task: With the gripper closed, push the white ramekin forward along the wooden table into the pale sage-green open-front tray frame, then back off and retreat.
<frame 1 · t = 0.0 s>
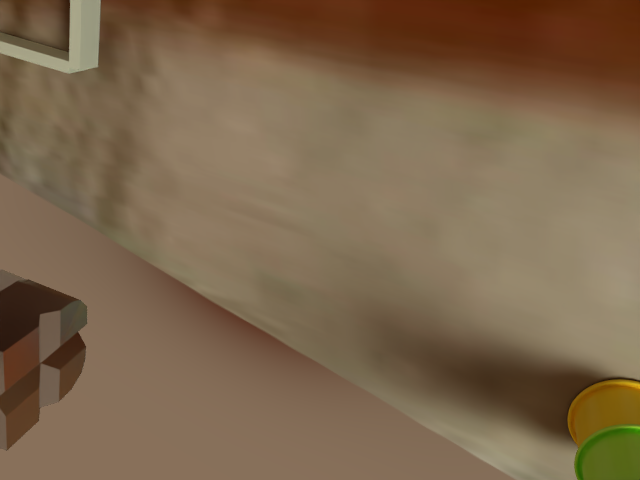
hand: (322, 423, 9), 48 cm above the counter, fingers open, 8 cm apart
stacking cups: (621, 419, 61), on the counter
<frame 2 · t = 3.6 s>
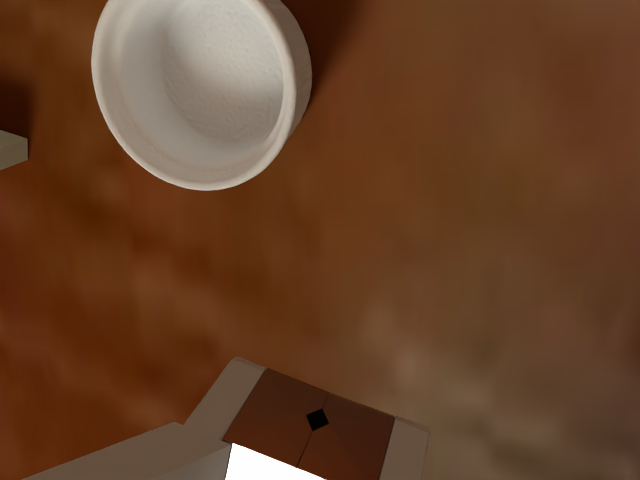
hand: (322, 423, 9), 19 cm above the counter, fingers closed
ramekin: (234, 69, 28), on the counter
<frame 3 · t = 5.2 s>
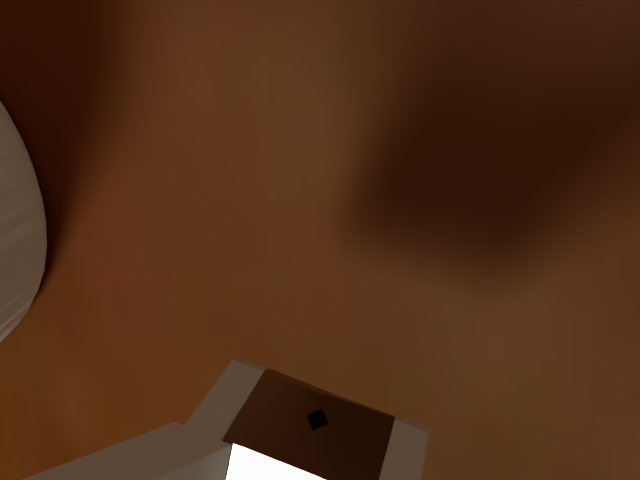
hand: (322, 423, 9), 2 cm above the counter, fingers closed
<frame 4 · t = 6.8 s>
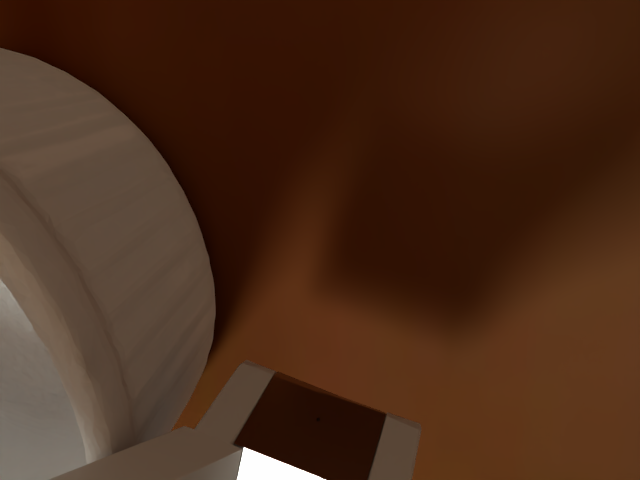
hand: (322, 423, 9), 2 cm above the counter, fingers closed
ramekin: (41, 252, 12), on the counter, touching gripper
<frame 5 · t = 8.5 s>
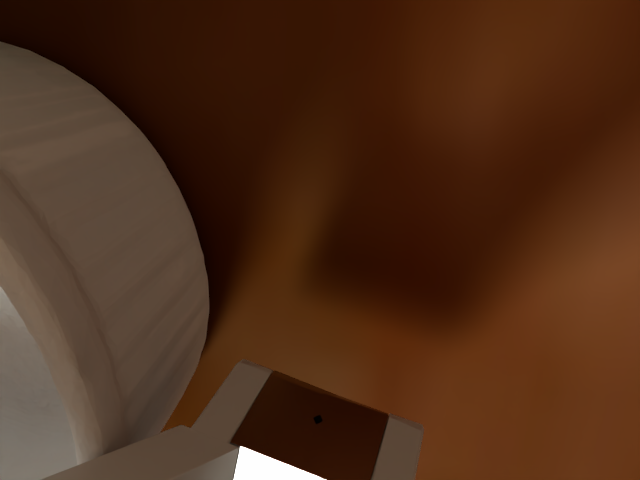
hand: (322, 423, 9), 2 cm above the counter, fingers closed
ramekin: (34, 247, 12), on the counter, touching gripper
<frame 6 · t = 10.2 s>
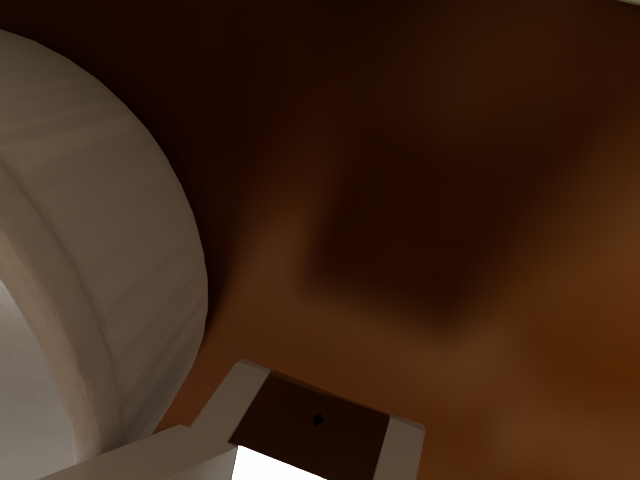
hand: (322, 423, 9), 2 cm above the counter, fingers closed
ramekin: (32, 238, 11), on the counter, touching gripper
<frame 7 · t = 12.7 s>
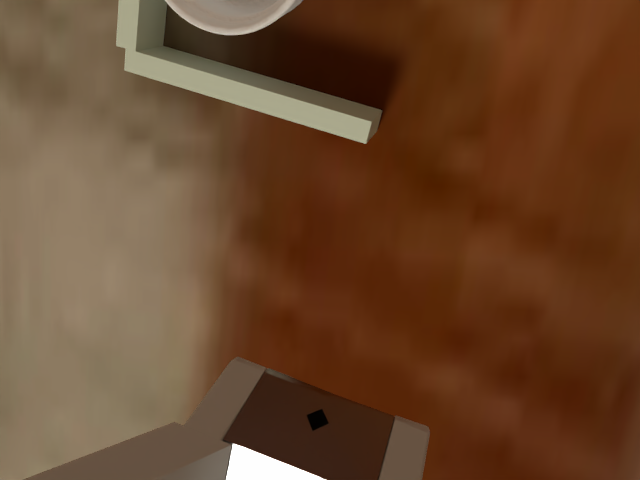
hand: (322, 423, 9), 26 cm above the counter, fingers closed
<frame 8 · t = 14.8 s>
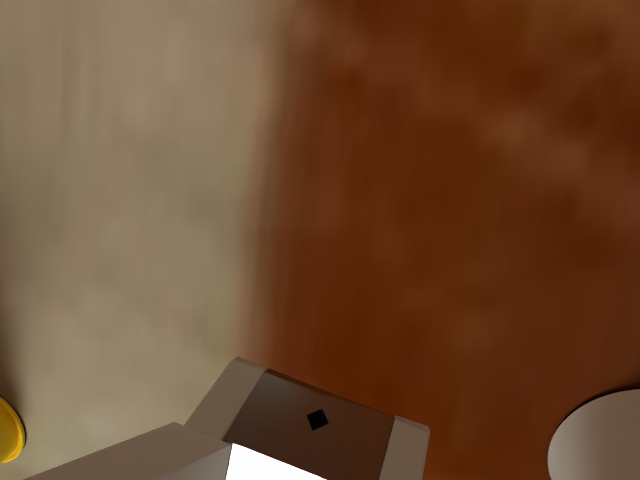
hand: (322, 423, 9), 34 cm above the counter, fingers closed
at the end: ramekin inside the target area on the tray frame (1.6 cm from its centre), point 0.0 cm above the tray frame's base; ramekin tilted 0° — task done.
